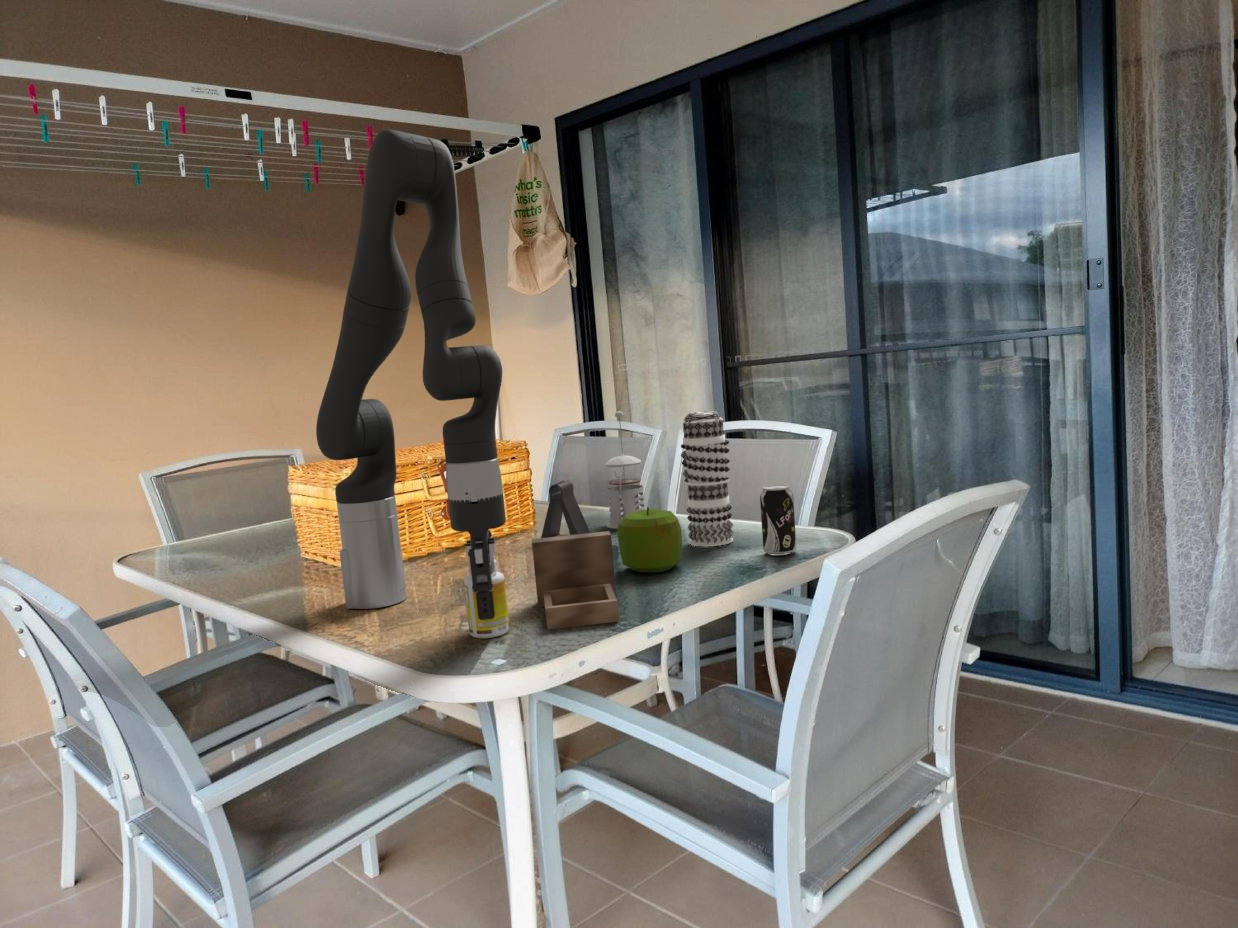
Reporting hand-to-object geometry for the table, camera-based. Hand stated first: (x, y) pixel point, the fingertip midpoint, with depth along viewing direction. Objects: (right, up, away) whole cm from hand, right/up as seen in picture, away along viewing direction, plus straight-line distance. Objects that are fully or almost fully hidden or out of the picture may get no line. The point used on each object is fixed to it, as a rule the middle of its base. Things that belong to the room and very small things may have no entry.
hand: (487, 611), depth 125 cm
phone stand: (+7, +5, +62) cm, 63 cm away
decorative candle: (+36, +5, +47) cm, 60 cm away
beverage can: (+47, +5, +33) cm, 57 cm away
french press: (+20, +7, +72) cm, 75 cm away
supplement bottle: (0, -3, 0) cm, 3 cm away
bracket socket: (+12, -1, +8) cm, 15 cm away
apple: (+24, +2, +30) cm, 38 cm away
